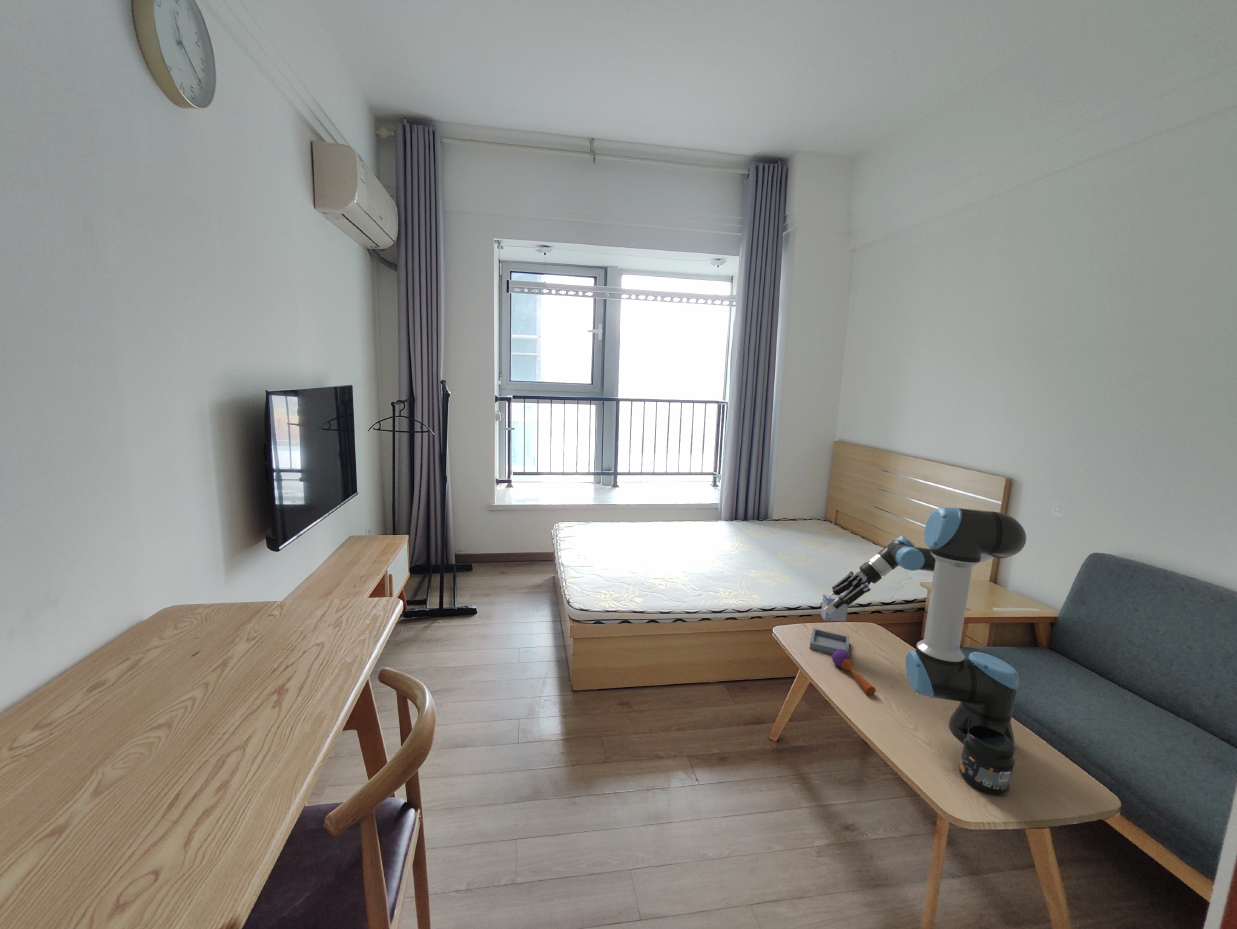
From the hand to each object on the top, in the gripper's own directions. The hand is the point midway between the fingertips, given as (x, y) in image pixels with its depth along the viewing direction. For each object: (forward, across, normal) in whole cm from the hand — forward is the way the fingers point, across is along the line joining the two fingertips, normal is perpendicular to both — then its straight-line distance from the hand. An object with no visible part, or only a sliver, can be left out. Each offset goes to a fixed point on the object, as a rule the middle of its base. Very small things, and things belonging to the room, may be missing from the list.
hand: (823, 608), depth 191 cm
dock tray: (+8, 0, -13) cm, 15 cm away
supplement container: (-3, -65, -23) cm, 69 cm away
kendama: (+8, -21, -13) cm, 26 cm away
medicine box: (0, 0, -6) cm, 6 cm away
